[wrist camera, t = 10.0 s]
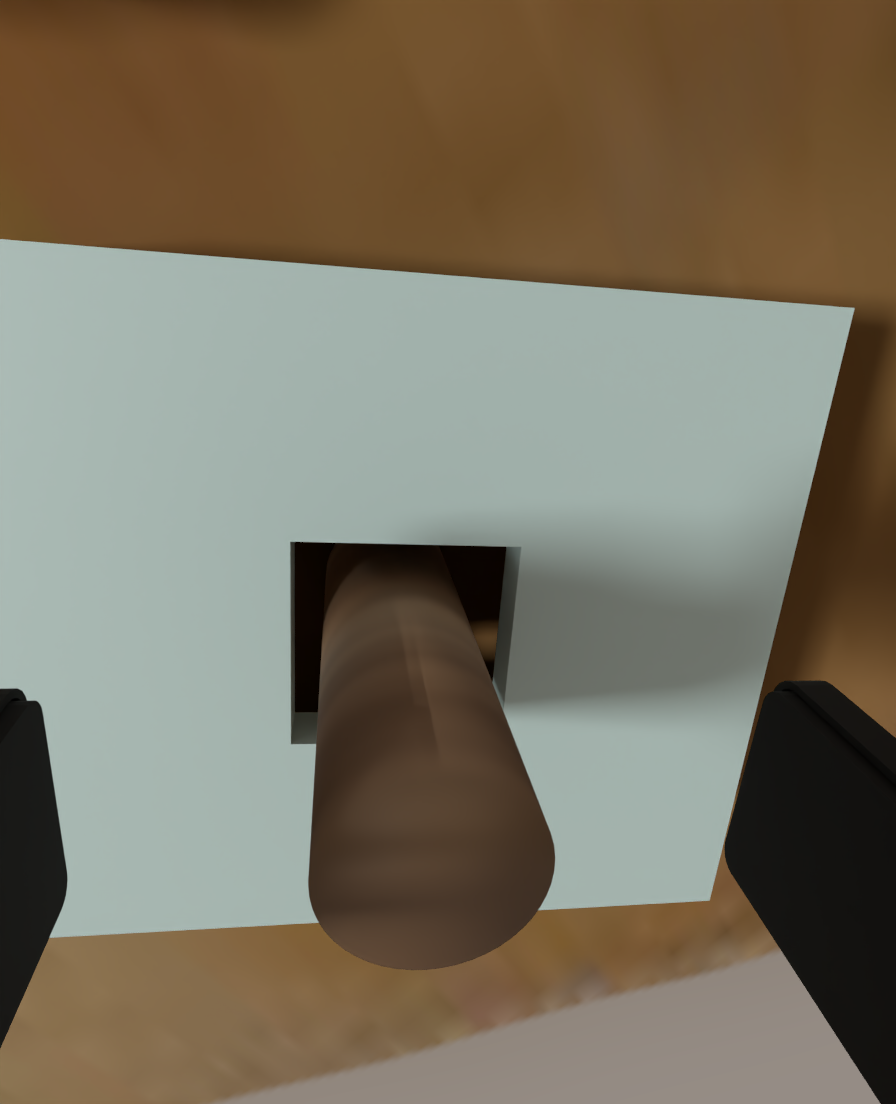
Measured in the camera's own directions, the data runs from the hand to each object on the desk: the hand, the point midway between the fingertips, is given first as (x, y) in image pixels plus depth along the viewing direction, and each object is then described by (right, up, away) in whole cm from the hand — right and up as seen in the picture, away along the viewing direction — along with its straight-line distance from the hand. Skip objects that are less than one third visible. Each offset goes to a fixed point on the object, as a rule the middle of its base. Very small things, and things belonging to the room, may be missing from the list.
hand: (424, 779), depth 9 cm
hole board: (-1, +2, +9) cm, 9 cm away
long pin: (-1, +2, +9) cm, 9 cm away
